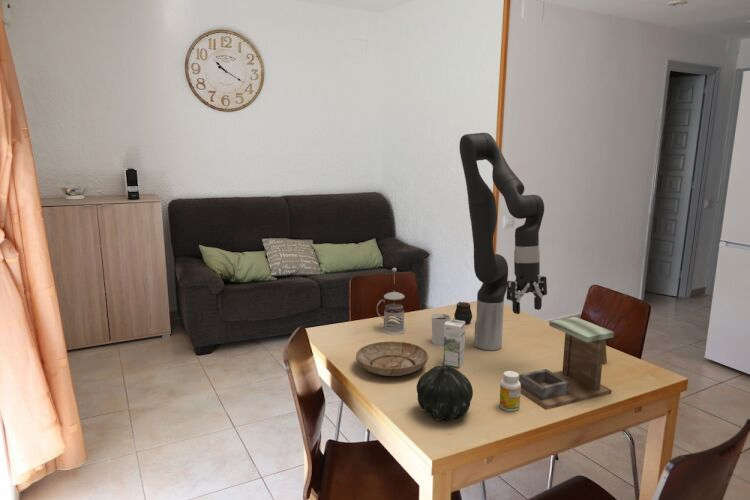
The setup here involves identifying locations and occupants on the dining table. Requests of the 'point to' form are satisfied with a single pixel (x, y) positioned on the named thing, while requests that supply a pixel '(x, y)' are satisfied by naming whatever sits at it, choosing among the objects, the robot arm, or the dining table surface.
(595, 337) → the awning stand
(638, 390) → the dining table surface
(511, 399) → the supplement bottle
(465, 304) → the mate gourd
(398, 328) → the french press
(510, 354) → the dining table surface
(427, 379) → the squash
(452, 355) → the syrup box
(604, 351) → the cork
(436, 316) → the white mug
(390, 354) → the ceramic bowl
